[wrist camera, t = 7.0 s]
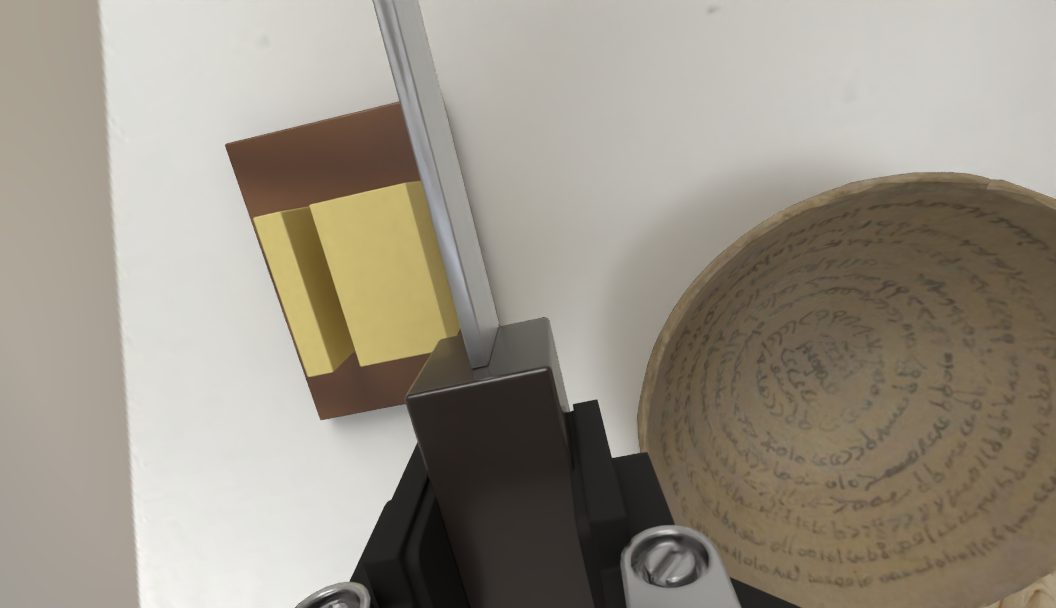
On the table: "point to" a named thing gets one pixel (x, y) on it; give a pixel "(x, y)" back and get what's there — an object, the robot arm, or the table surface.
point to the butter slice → (306, 288)
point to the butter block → (387, 271)
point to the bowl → (869, 396)
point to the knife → (485, 384)
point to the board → (320, 175)
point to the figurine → (1032, 595)
